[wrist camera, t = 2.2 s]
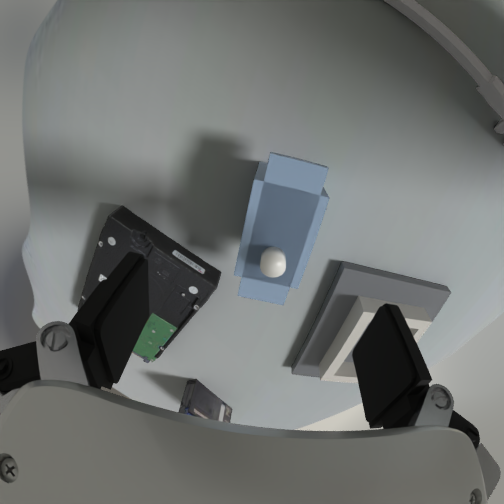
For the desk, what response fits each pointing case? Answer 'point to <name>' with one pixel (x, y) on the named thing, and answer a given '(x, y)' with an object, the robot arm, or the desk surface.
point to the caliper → (457, 54)
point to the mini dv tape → (203, 403)
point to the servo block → (280, 227)
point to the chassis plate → (362, 317)
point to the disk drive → (154, 278)
